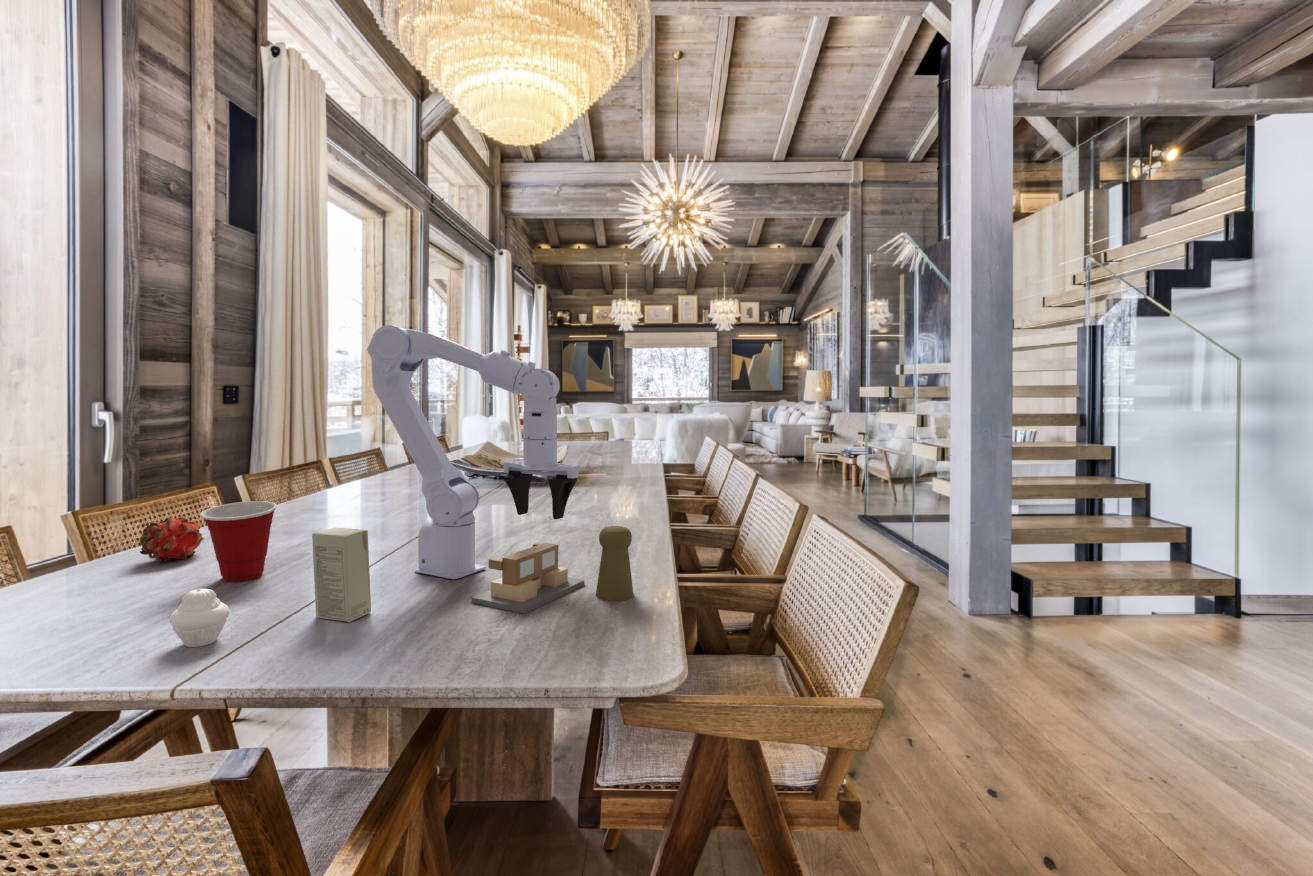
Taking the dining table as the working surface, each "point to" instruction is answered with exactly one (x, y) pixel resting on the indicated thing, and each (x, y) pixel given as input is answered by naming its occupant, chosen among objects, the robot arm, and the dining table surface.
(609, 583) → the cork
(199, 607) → the muffin
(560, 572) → the gray tray with blocks
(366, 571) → the skincare box
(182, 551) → the dragon fruit
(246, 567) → the plastic cup
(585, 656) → the dining table surface
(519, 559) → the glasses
